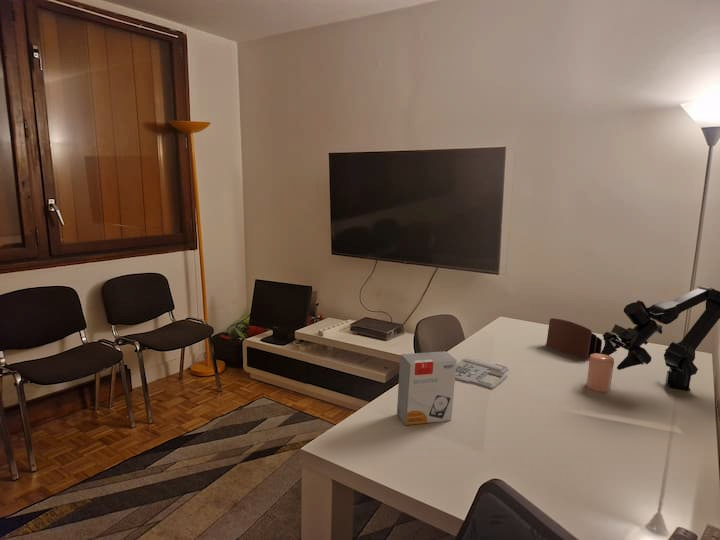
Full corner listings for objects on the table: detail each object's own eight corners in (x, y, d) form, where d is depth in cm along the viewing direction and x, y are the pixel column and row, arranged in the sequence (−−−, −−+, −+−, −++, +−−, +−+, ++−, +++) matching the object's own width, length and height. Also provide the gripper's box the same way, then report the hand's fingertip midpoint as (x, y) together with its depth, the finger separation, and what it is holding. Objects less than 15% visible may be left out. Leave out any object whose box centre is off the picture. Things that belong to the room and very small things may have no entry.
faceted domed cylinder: (607, 388, 170) (612, 355, 168) (610, 397, 163) (615, 362, 161) (585, 384, 173) (589, 352, 170) (586, 392, 166) (591, 359, 164)
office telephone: (467, 353, 195) (515, 365, 184) (467, 359, 196) (515, 372, 184) (441, 369, 177) (492, 384, 165) (440, 376, 178) (492, 391, 166)
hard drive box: (404, 426, 140) (408, 363, 136) (396, 414, 148) (398, 353, 144) (452, 420, 145) (457, 359, 141) (441, 408, 152) (445, 350, 148)
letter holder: (587, 361, 196) (591, 328, 193) (545, 346, 212) (548, 316, 209) (600, 356, 201) (605, 325, 198) (559, 342, 217) (562, 313, 215)
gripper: (610, 310, 173) (579, 339, 174) (649, 326, 155) (614, 359, 156) (626, 330, 176) (595, 359, 176) (666, 348, 158) (632, 380, 158)
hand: (608, 363), depth 167 cm, fingers open, 9 cm apart
